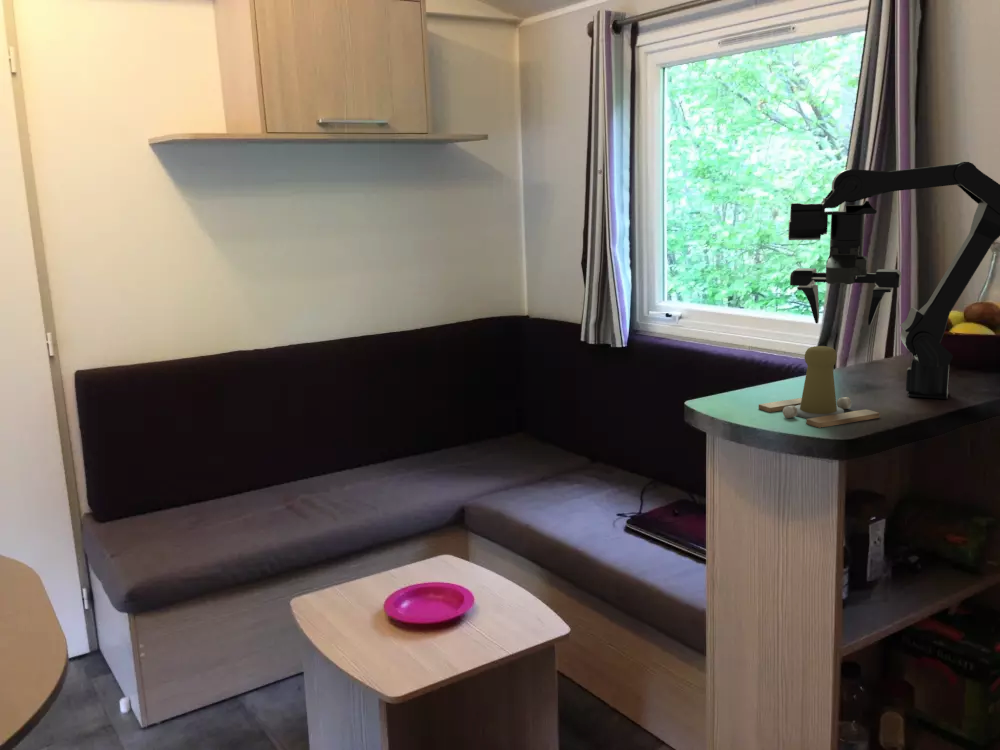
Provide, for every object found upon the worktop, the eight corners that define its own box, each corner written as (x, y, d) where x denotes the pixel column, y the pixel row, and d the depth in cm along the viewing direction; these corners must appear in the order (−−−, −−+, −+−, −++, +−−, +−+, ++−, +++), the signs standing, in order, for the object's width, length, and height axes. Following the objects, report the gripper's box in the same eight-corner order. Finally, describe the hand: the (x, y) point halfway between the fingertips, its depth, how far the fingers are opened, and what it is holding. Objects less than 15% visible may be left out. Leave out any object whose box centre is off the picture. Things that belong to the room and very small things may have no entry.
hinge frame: (816, 399, 166) (816, 389, 165) (880, 417, 152) (880, 405, 152) (757, 408, 160) (757, 397, 160) (818, 428, 147) (818, 416, 147)
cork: (824, 415, 152) (827, 351, 150) (792, 409, 157) (795, 347, 154) (843, 409, 156) (847, 346, 153) (812, 403, 160) (815, 342, 158)
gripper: (785, 242, 162) (783, 328, 165) (899, 242, 154) (893, 333, 157) (796, 238, 172) (793, 319, 175) (903, 238, 163) (898, 323, 167)
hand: (842, 324), depth 168 cm, fingers open, 9 cm apart
